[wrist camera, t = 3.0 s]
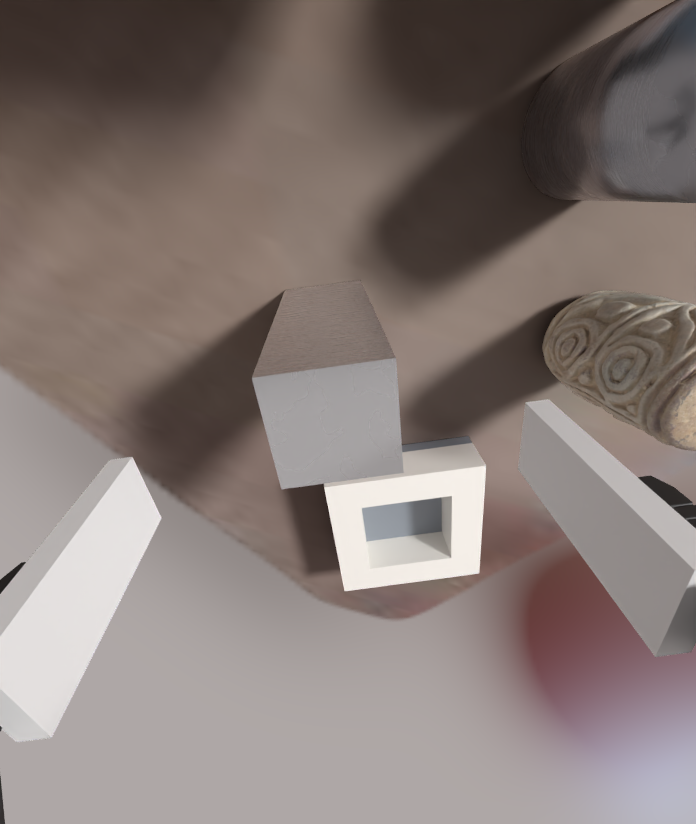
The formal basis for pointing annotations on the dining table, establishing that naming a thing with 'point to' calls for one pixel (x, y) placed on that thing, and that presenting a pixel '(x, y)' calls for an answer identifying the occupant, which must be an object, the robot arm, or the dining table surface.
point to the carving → (630, 360)
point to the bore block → (411, 517)
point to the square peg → (329, 388)
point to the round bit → (620, 116)
